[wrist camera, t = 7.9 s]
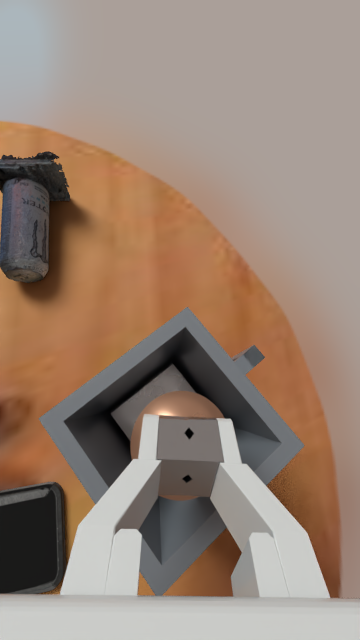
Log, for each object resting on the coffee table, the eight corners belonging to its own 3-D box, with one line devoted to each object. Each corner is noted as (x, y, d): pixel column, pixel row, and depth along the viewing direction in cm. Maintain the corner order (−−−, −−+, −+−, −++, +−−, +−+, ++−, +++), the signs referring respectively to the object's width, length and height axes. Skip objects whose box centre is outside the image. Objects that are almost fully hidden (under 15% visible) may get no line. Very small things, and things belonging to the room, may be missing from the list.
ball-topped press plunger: (112, 413, 23) (52, 429, 10) (172, 364, 24) (192, 321, 11) (159, 479, 22) (167, 601, 9) (219, 424, 23) (304, 455, 10)
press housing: (100, 409, 27) (38, 418, 13) (189, 338, 30) (221, 281, 16) (156, 488, 26) (158, 599, 11) (245, 406, 28) (337, 411, 14)
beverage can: (14, 201, 34) (13, 292, 32) (-40, 152, 27) (-47, 266, 24) (84, 189, 34) (89, 281, 31) (49, 135, 26) (52, 250, 24)
